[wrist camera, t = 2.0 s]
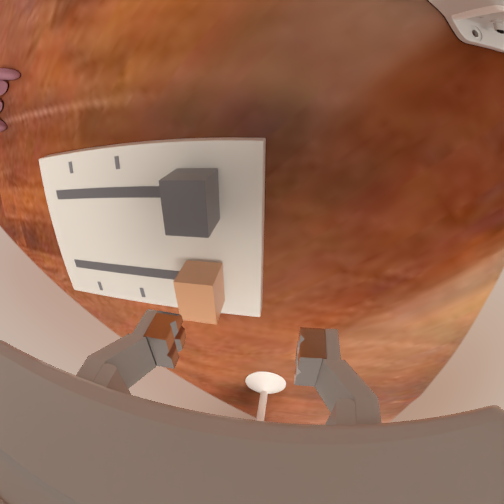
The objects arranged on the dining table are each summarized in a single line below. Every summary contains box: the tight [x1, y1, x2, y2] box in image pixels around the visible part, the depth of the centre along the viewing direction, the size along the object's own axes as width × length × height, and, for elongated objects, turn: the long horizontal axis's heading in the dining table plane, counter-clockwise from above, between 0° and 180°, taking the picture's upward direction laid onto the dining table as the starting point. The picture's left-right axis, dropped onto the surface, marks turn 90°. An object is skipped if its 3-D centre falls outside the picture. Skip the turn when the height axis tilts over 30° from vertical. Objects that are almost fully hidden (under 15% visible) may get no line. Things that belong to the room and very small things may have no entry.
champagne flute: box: [245, 372, 286, 421], centre depth 34 cm, size 7×7×24 cm
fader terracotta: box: [173, 260, 225, 324], centre depth 30 cm, size 4×5×4 cm
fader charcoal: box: [159, 168, 220, 238], centre depth 25 cm, size 4×5×4 cm
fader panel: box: [39, 137, 266, 317], centre depth 31 cm, size 28×20×2 cm
